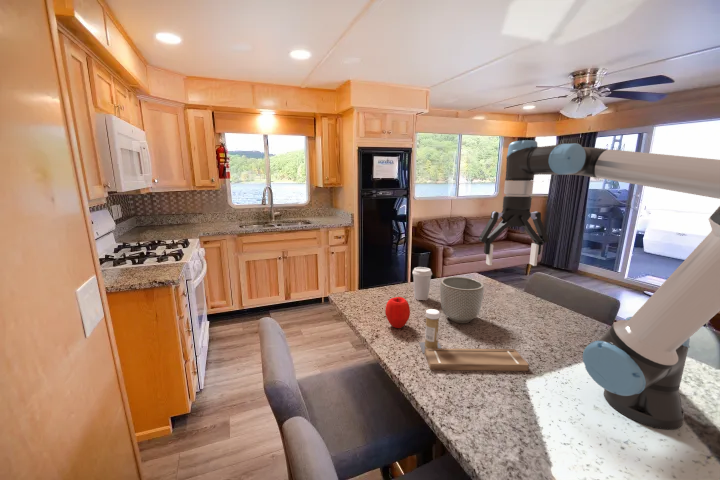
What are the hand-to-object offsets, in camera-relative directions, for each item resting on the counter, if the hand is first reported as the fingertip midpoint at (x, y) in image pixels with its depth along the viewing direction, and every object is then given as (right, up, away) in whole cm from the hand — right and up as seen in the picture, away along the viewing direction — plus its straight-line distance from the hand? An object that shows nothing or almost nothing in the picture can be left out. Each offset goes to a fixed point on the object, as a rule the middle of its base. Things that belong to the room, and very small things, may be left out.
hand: (510, 264), depth 95 cm
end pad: (-22, -30, +12) cm, 39 cm away
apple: (-32, -27, +28) cm, 50 cm away
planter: (-5, -26, +35) cm, 43 cm away
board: (-10, -32, +4) cm, 33 cm away
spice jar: (-22, -30, +12) cm, 39 cm away
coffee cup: (-16, -22, +57) cm, 63 cm away
